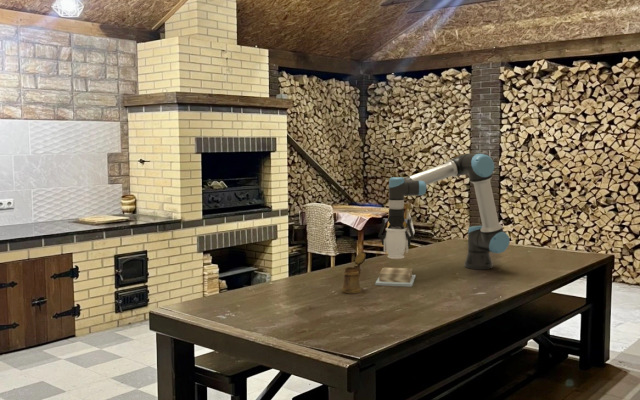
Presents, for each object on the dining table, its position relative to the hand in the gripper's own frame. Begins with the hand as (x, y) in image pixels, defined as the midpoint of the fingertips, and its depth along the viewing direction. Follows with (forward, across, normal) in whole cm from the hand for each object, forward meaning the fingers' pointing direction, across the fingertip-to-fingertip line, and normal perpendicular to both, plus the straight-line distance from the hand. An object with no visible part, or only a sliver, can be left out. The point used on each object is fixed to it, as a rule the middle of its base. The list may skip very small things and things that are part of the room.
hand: (395, 251), depth 336 cm
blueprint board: (+15, 0, 0) cm, 15 cm away
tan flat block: (+14, 0, 0) cm, 14 cm away
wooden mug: (+15, +17, +24) cm, 33 cm away
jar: (+3, 0, 0) cm, 3 cm away
